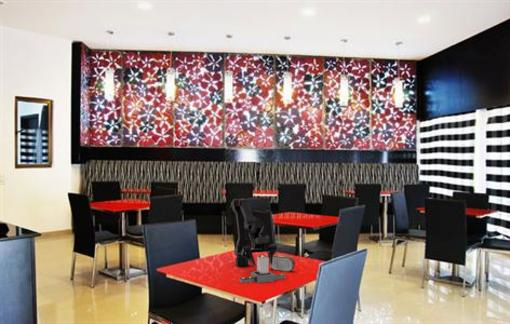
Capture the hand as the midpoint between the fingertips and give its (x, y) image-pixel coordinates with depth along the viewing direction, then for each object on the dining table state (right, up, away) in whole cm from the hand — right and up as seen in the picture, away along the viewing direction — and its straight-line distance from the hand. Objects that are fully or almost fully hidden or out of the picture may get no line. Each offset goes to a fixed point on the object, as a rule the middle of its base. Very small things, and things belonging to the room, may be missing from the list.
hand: (263, 264), depth 227 cm
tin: (+11, -8, +20) cm, 24 cm away
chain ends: (0, -8, +1) cm, 8 cm away
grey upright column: (0, -8, +1) cm, 8 cm away
